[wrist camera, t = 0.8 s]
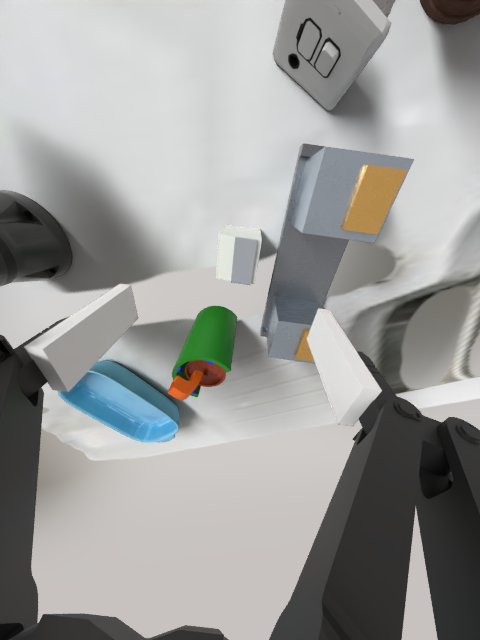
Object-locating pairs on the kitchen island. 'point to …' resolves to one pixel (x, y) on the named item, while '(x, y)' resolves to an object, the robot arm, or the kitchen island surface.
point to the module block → (238, 254)
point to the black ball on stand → (451, 10)
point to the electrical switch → (329, 43)
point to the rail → (303, 259)
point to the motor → (205, 353)
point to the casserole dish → (124, 403)
